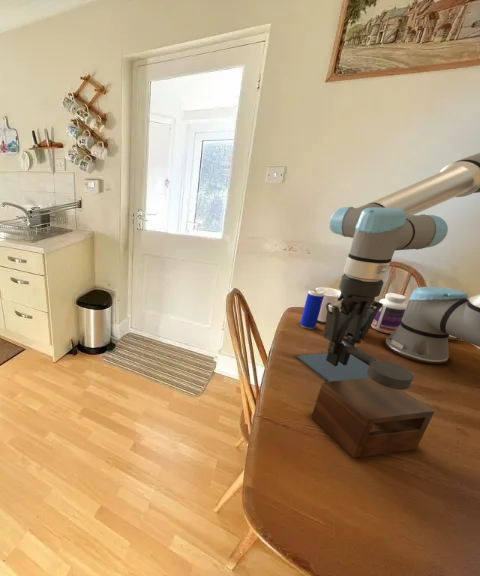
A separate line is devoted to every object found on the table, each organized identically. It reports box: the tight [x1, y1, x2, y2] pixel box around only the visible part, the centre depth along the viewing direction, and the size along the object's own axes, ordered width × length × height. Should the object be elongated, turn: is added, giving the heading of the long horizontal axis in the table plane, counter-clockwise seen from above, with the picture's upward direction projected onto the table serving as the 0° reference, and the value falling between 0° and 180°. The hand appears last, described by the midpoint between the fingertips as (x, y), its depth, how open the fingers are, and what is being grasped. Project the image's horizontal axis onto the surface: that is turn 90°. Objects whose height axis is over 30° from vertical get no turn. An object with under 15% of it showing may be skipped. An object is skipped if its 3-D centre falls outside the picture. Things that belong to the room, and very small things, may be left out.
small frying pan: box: [326, 338, 414, 391], centre depth 73 cm, size 7×20×3 cm, turn 8°
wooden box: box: [310, 377, 436, 459], centre depth 73 cm, size 16×12×11 cm
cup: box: [314, 287, 341, 324], centre depth 127 cm, size 10×10×13 cm
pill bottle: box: [371, 292, 408, 335], centre depth 119 cm, size 8×8×14 cm
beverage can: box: [299, 288, 324, 330], centre depth 122 cm, size 5×5×15 cm
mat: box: [296, 352, 369, 382], centre depth 98 cm, size 20×16×1 cm
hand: (336, 362), depth 81 cm, fingers closed on small frying pan, 2 cm apart
